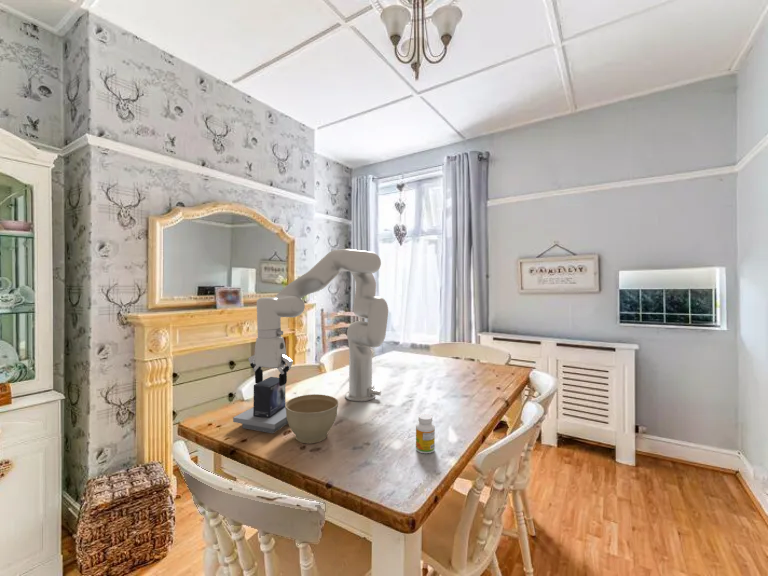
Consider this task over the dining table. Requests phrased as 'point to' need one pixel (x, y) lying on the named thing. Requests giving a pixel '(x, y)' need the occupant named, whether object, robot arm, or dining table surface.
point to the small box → (268, 397)
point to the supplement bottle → (425, 434)
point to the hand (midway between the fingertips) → (270, 383)
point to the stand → (262, 421)
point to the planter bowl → (311, 416)
